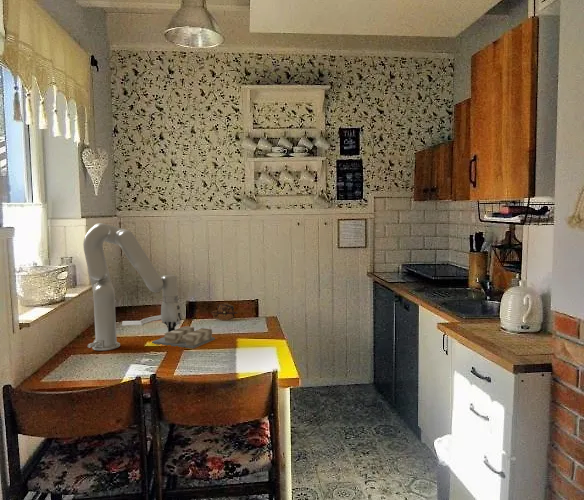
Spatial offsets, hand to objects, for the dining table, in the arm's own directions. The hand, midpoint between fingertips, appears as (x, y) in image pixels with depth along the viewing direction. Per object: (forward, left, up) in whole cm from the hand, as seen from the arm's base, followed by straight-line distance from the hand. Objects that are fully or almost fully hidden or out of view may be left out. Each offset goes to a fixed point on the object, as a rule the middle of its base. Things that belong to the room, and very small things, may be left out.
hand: (171, 334), depth 252 cm
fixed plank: (0, -16, -3) cm, 16 cm away
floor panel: (0, -7, -3) cm, 8 cm away
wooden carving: (+49, 0, -3) cm, 49 cm away
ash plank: (0, -5, -2) cm, 5 cm away
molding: (+35, +42, -3) cm, 55 cm away
